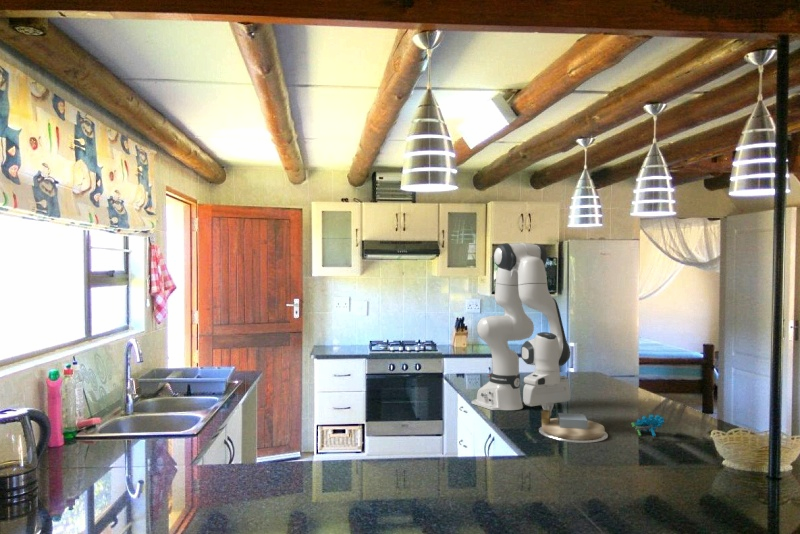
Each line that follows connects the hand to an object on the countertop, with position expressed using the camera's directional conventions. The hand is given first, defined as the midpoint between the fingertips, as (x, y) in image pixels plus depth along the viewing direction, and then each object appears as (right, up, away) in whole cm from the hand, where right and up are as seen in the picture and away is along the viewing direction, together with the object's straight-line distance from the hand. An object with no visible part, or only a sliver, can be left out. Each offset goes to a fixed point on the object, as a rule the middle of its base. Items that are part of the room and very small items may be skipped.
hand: (547, 415), depth 193 cm
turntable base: (+7, -4, -7) cm, 11 cm away
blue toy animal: (+33, -5, -8) cm, 34 cm away
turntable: (+7, -4, -7) cm, 11 cm away
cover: (+7, -2, -6) cm, 10 cm away
